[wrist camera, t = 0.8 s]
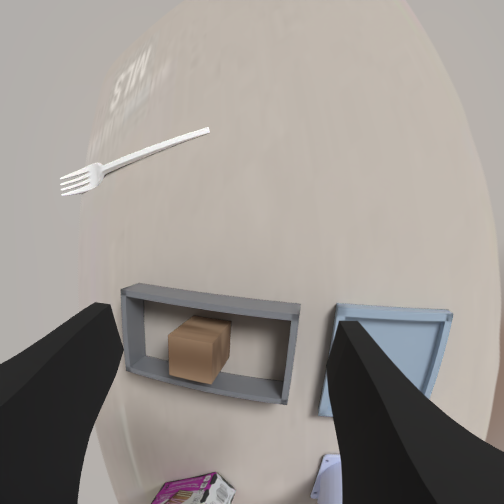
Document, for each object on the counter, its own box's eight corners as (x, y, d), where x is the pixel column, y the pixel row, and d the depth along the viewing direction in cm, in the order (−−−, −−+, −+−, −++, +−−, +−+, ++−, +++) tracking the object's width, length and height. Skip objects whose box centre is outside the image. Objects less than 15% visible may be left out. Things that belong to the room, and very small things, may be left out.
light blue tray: (419, 409, 26) (422, 416, 25) (318, 407, 28) (318, 415, 27) (447, 309, 25) (453, 313, 23) (336, 302, 27) (338, 307, 26)
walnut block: (229, 356, 30) (211, 384, 24) (193, 350, 30) (169, 374, 24) (231, 321, 29) (212, 343, 23) (193, 315, 30) (168, 335, 24)
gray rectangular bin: (289, 387, 29) (286, 404, 25) (141, 358, 32) (126, 370, 28) (300, 303, 28) (299, 314, 24) (138, 283, 31) (120, 289, 27)
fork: (215, 145, 29) (210, 141, 27) (71, 200, 32) (61, 199, 30) (209, 118, 29) (204, 111, 27) (68, 176, 32) (59, 174, 30)
